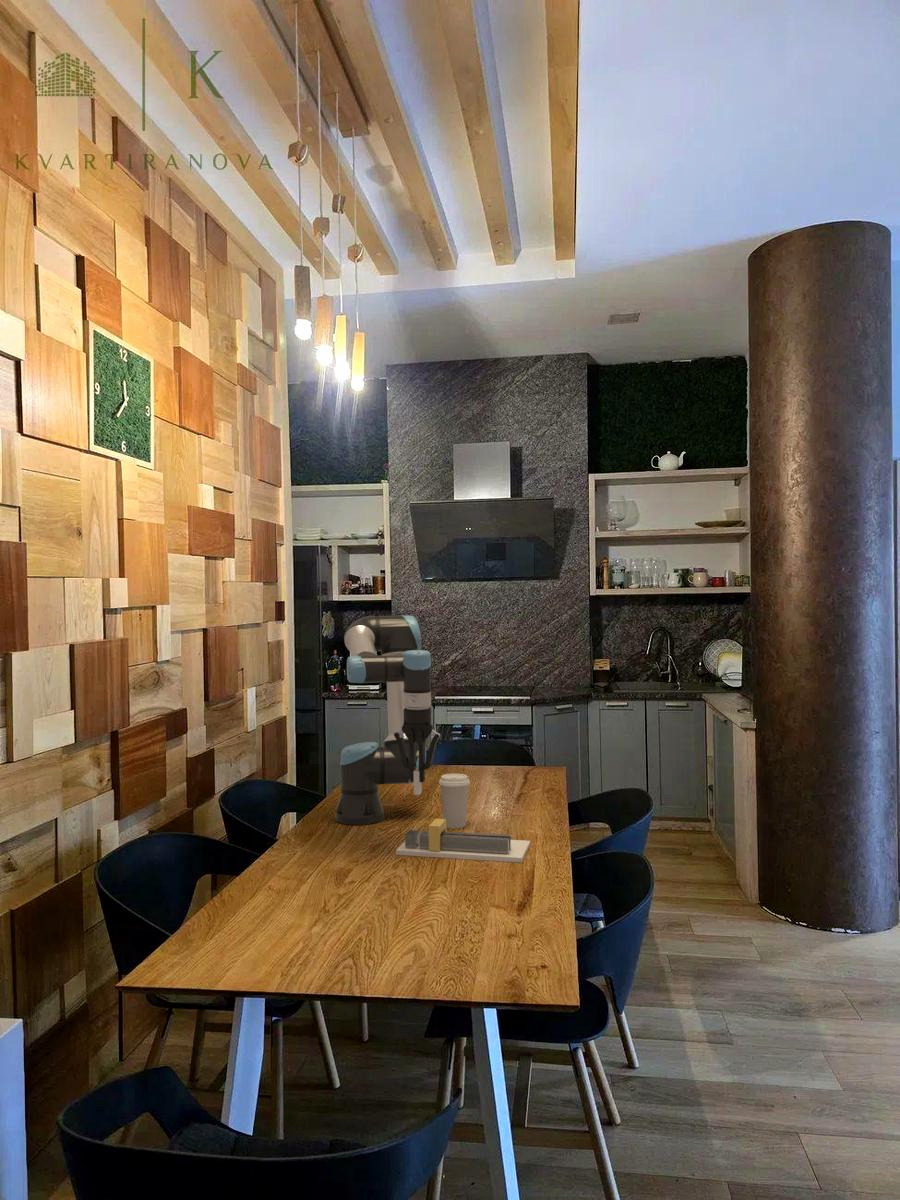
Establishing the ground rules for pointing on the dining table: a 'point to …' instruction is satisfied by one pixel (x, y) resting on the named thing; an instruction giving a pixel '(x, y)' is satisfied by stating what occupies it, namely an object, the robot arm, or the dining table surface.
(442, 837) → the tongs fixed
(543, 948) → the dining table surface
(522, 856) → the board
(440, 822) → the tan boxy piece
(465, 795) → the coffee cup
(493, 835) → the tongs jaw
